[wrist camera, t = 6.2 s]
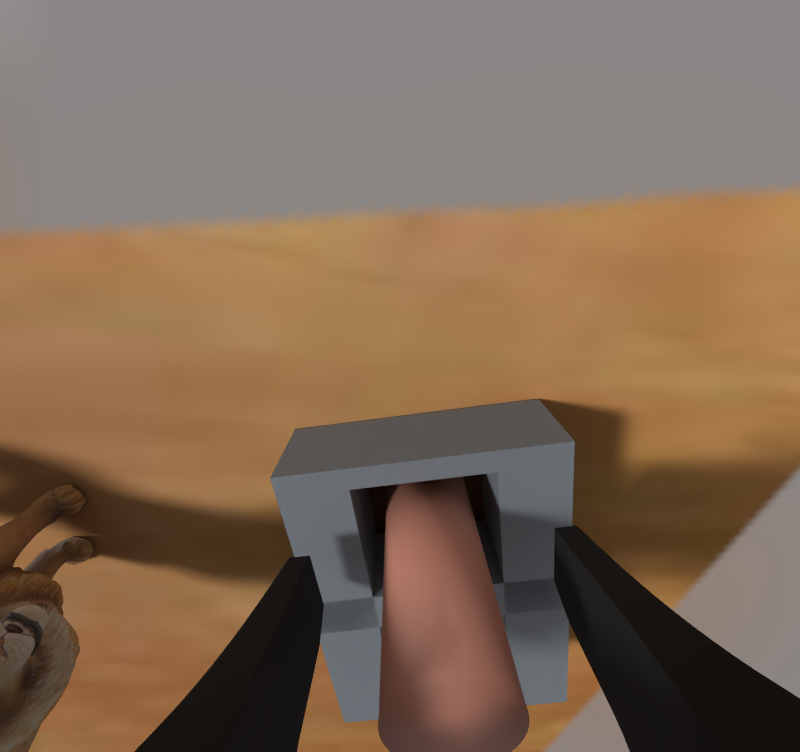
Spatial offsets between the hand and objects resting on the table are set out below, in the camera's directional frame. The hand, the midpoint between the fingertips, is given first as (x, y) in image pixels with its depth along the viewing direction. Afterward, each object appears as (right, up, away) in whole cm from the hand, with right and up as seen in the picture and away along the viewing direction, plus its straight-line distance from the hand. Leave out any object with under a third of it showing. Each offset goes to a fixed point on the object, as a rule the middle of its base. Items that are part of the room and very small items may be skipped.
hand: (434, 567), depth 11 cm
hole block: (0, -1, +5) cm, 5 cm away
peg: (0, +1, +4) cm, 4 cm away
